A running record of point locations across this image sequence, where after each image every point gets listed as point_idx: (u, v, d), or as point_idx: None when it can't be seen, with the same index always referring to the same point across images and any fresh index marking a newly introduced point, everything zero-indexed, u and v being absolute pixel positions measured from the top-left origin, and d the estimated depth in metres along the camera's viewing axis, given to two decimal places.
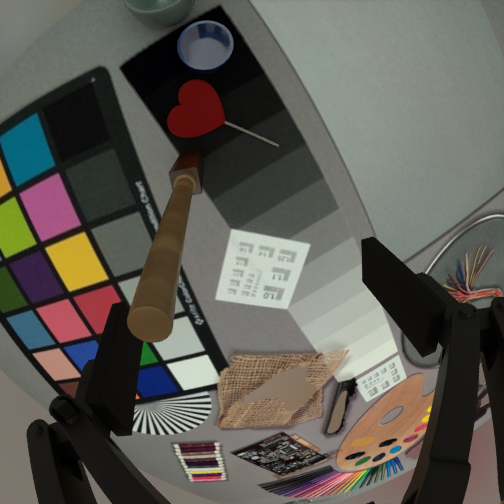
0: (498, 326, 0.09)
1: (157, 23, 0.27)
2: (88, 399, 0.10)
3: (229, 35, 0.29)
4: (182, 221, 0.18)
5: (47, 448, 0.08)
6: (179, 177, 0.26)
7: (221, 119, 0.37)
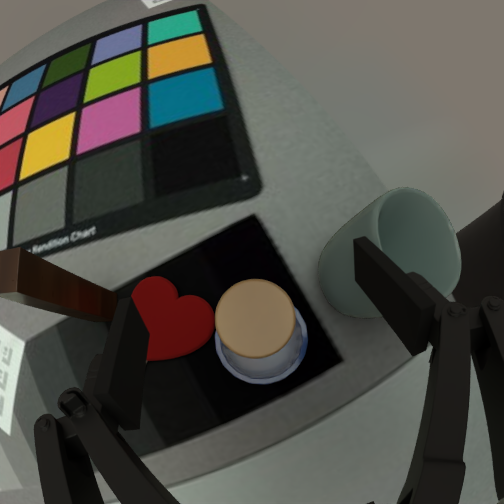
0: (489, 325, 0.09)
1: (337, 252, 0.20)
2: (97, 393, 0.10)
3: (276, 378, 0.20)
4: None
5: (54, 443, 0.08)
6: None
7: (148, 355, 0.25)
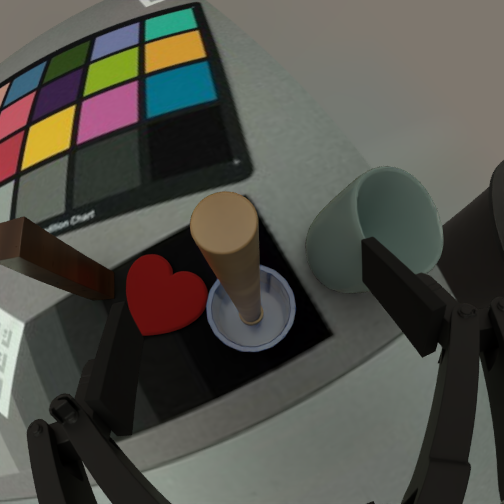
0: (498, 326, 0.09)
1: (321, 229, 0.22)
2: (88, 399, 0.10)
3: (265, 345, 0.21)
4: (253, 302, 0.15)
5: (47, 448, 0.08)
6: (261, 307, 0.25)
7: (143, 329, 0.26)
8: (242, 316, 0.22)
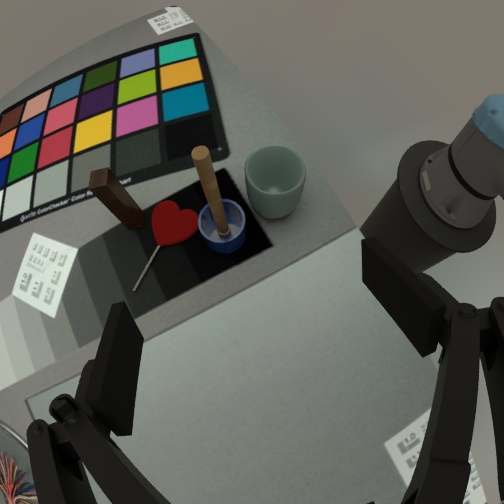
0: (498, 326, 0.09)
1: None
2: (88, 399, 0.10)
3: (228, 239, 0.41)
4: (216, 200, 0.35)
5: (47, 448, 0.08)
6: (228, 226, 0.45)
7: (161, 242, 0.46)
8: (216, 224, 0.42)
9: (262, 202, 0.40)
